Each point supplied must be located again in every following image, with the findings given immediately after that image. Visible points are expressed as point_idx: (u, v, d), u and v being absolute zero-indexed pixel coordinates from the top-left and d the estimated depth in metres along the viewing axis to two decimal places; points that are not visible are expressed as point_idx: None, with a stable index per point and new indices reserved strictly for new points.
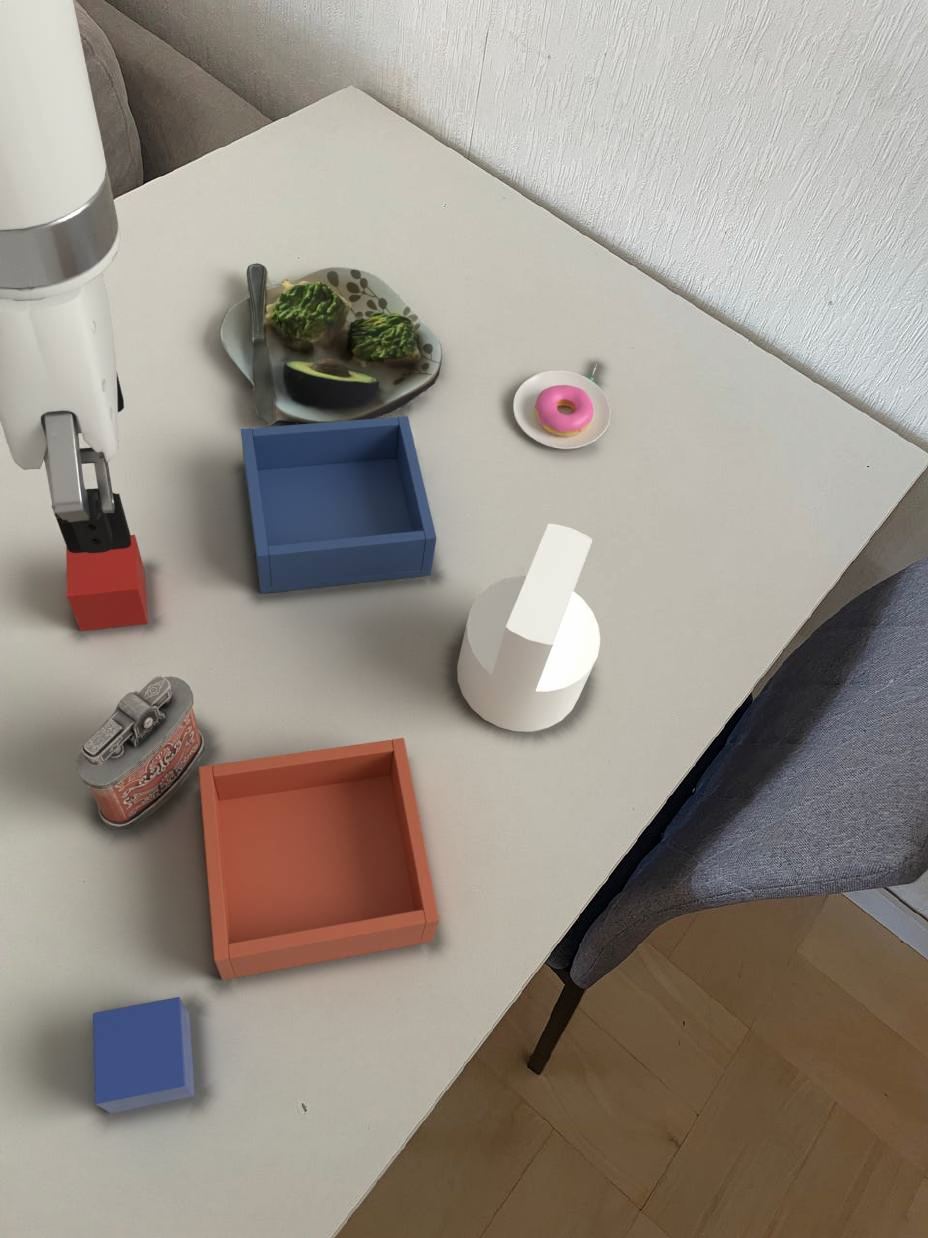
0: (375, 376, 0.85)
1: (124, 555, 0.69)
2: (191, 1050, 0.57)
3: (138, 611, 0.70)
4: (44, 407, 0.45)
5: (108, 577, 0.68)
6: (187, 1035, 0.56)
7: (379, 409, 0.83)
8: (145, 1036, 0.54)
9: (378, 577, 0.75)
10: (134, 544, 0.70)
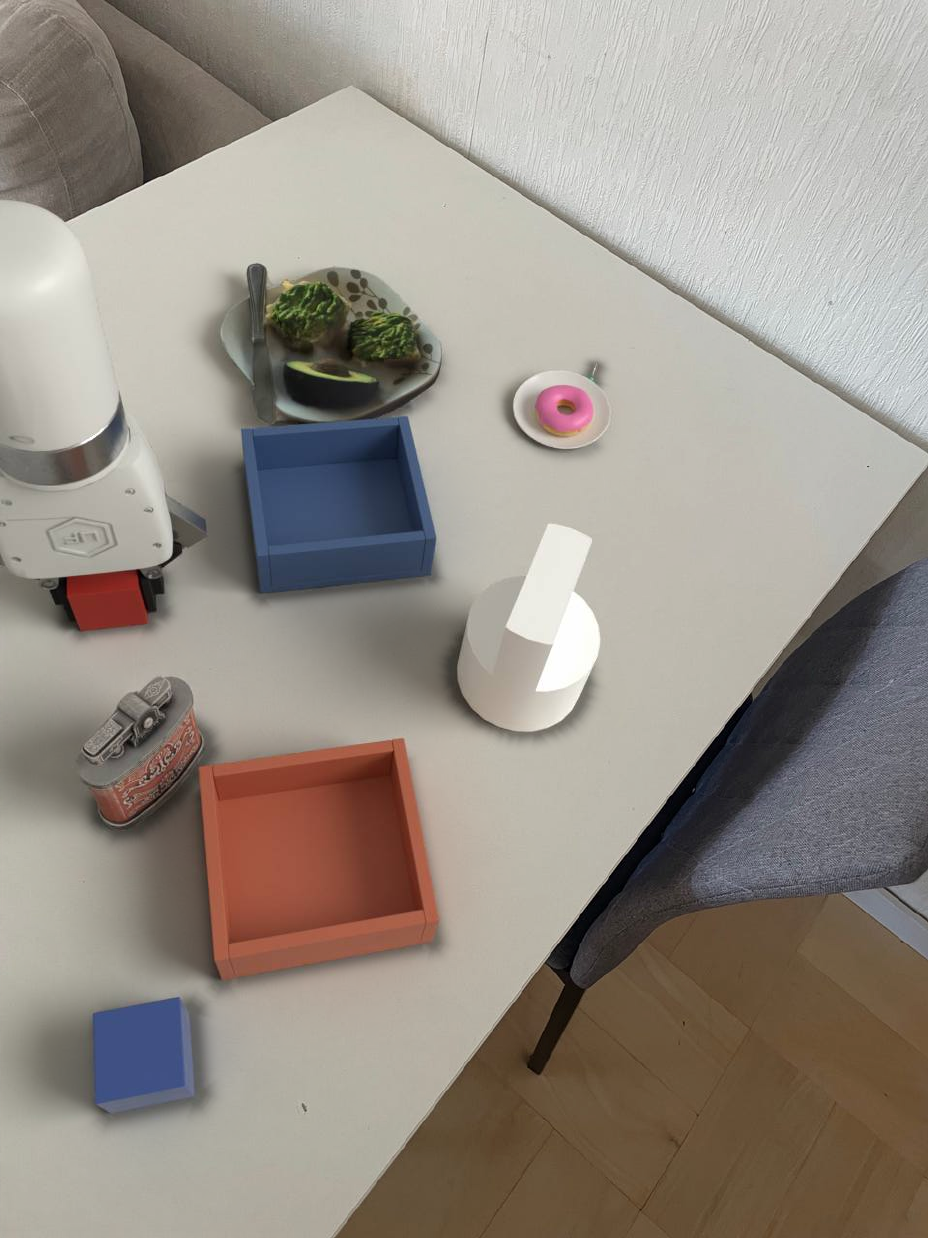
0: (375, 376, 0.85)
1: None
2: (191, 1050, 0.57)
3: (138, 611, 0.70)
4: (163, 492, 0.63)
5: (108, 577, 0.68)
6: (187, 1035, 0.56)
7: (379, 409, 0.83)
8: (145, 1036, 0.54)
9: (378, 577, 0.75)
10: None
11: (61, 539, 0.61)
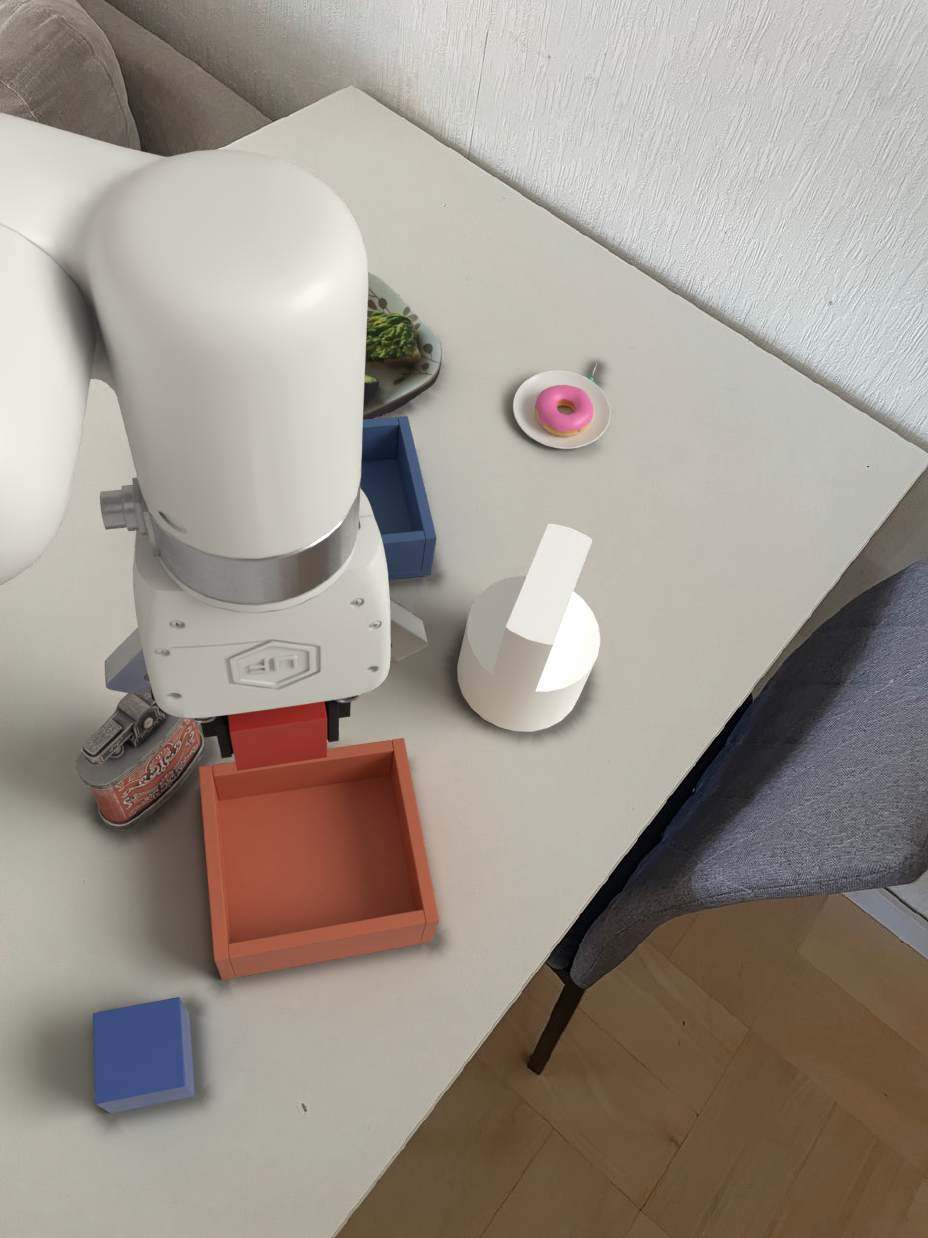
0: (375, 376, 0.85)
1: None
2: (191, 1050, 0.57)
3: (319, 744, 0.50)
4: None
5: None
6: (187, 1035, 0.56)
7: (379, 409, 0.83)
8: (145, 1036, 0.54)
9: None
10: None
11: (244, 668, 0.41)
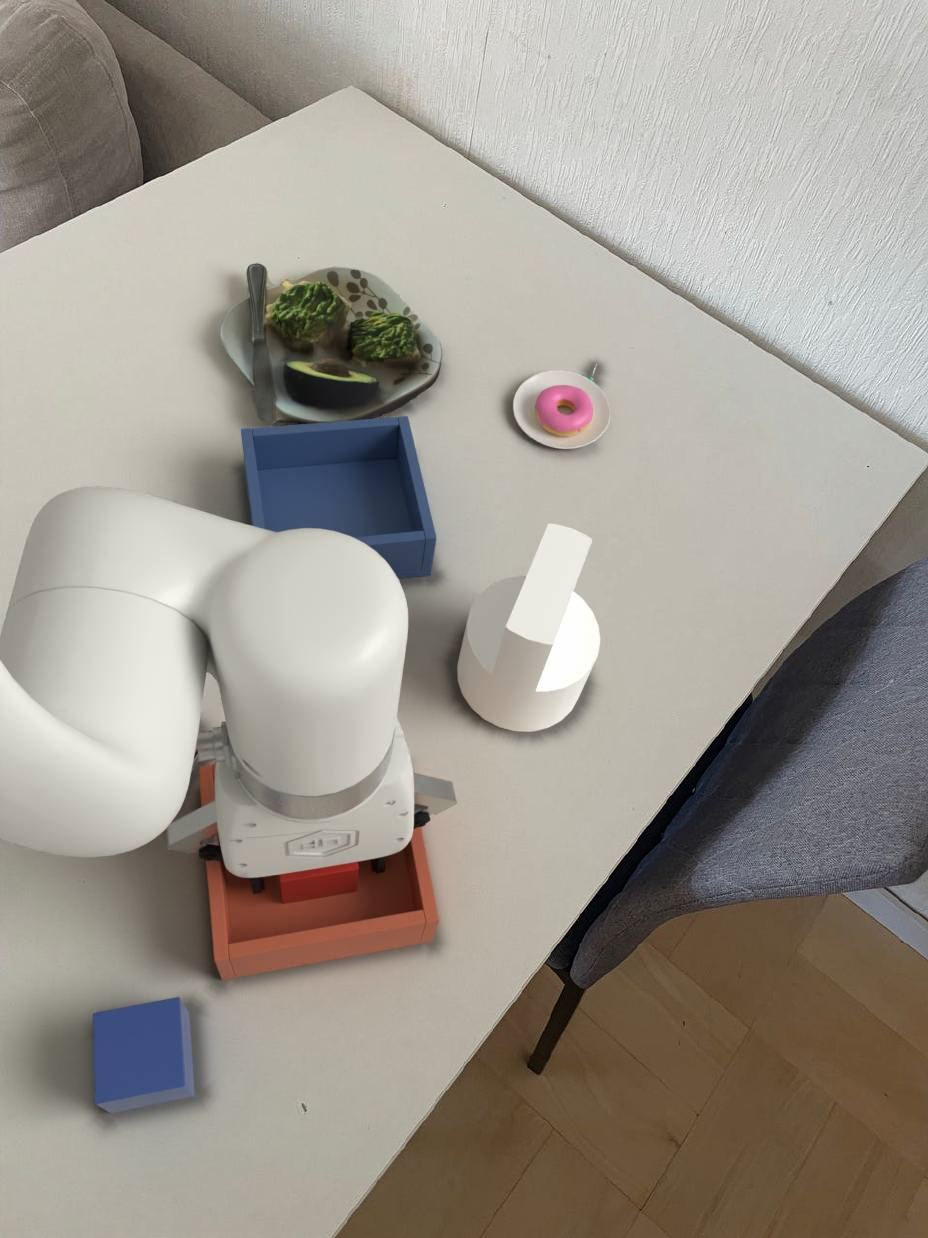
0: (375, 376, 0.85)
1: None
2: (191, 1050, 0.57)
3: (351, 884, 0.61)
4: None
5: None
6: (187, 1035, 0.56)
7: (379, 409, 0.83)
8: (145, 1036, 0.54)
9: None
10: None
11: (298, 846, 0.52)
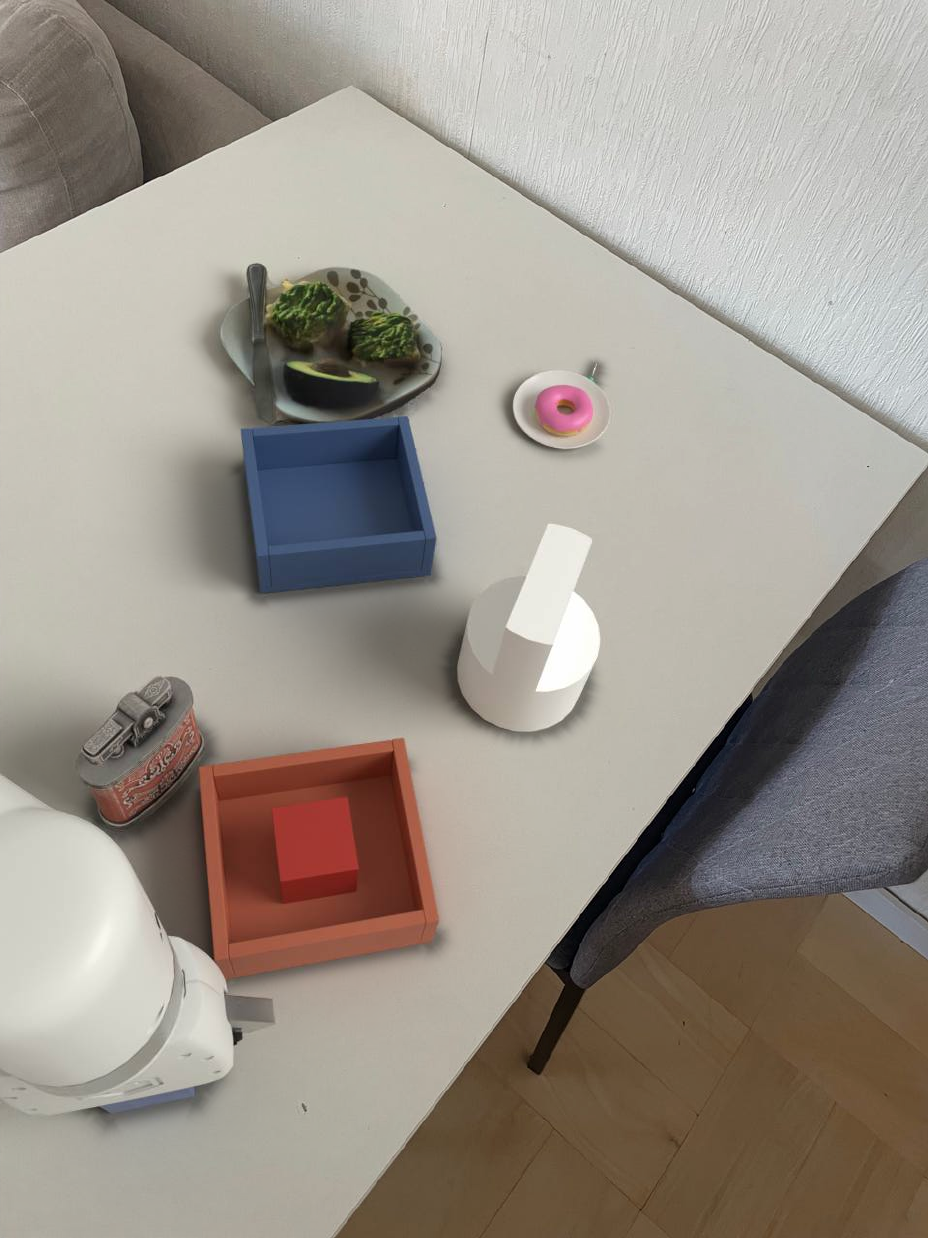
0: (375, 376, 0.85)
1: (339, 825, 0.60)
2: None
3: (351, 884, 0.61)
4: (224, 1010, 0.48)
5: (324, 855, 0.59)
6: None
7: (379, 409, 0.83)
8: None
9: (378, 577, 0.75)
10: (348, 809, 0.61)
11: None
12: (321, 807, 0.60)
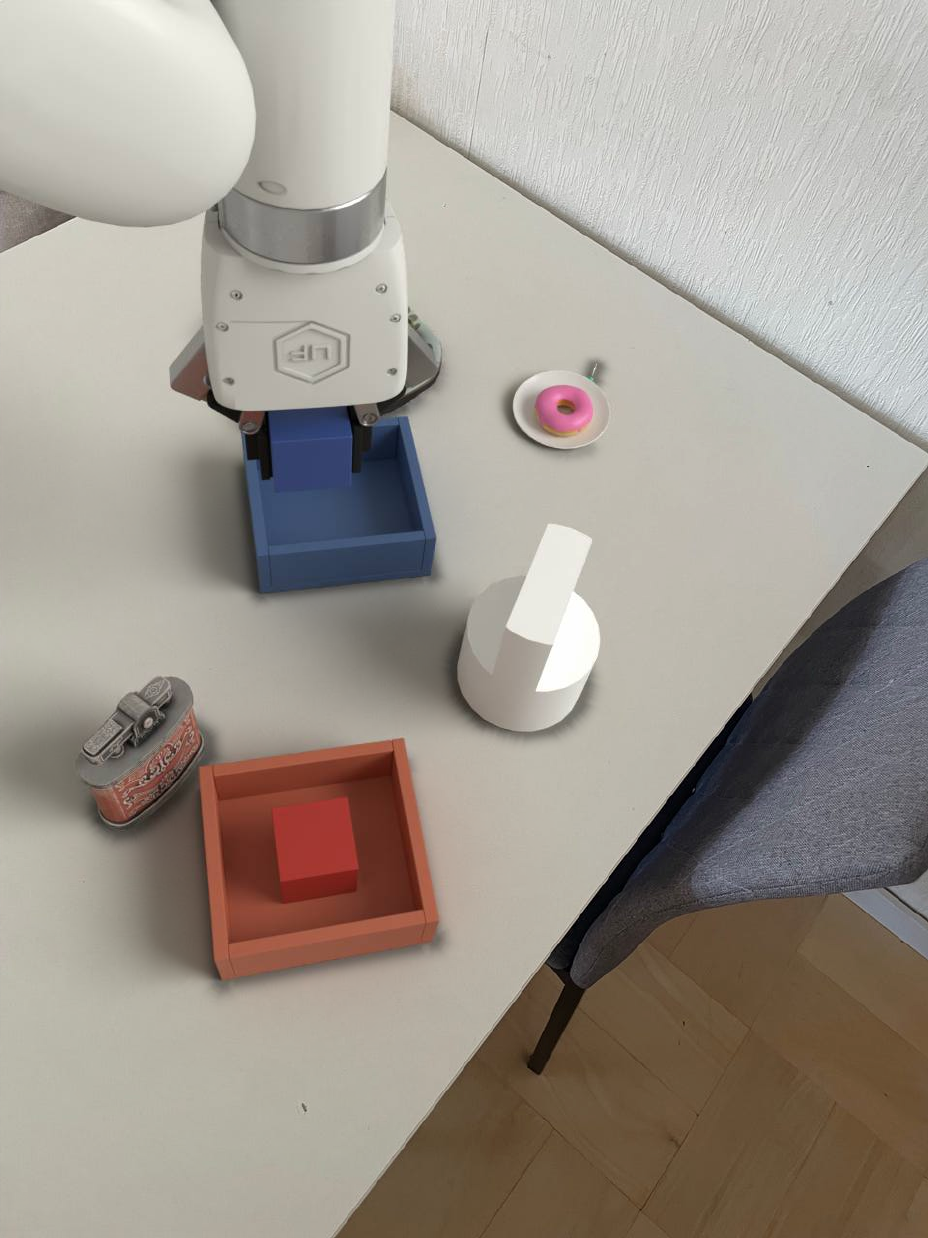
0: None
1: (339, 825, 0.60)
2: None
3: (351, 884, 0.61)
4: None
5: (324, 855, 0.59)
6: None
7: None
8: None
9: (378, 577, 0.75)
10: (348, 809, 0.61)
11: (287, 354, 0.50)
12: (321, 807, 0.60)
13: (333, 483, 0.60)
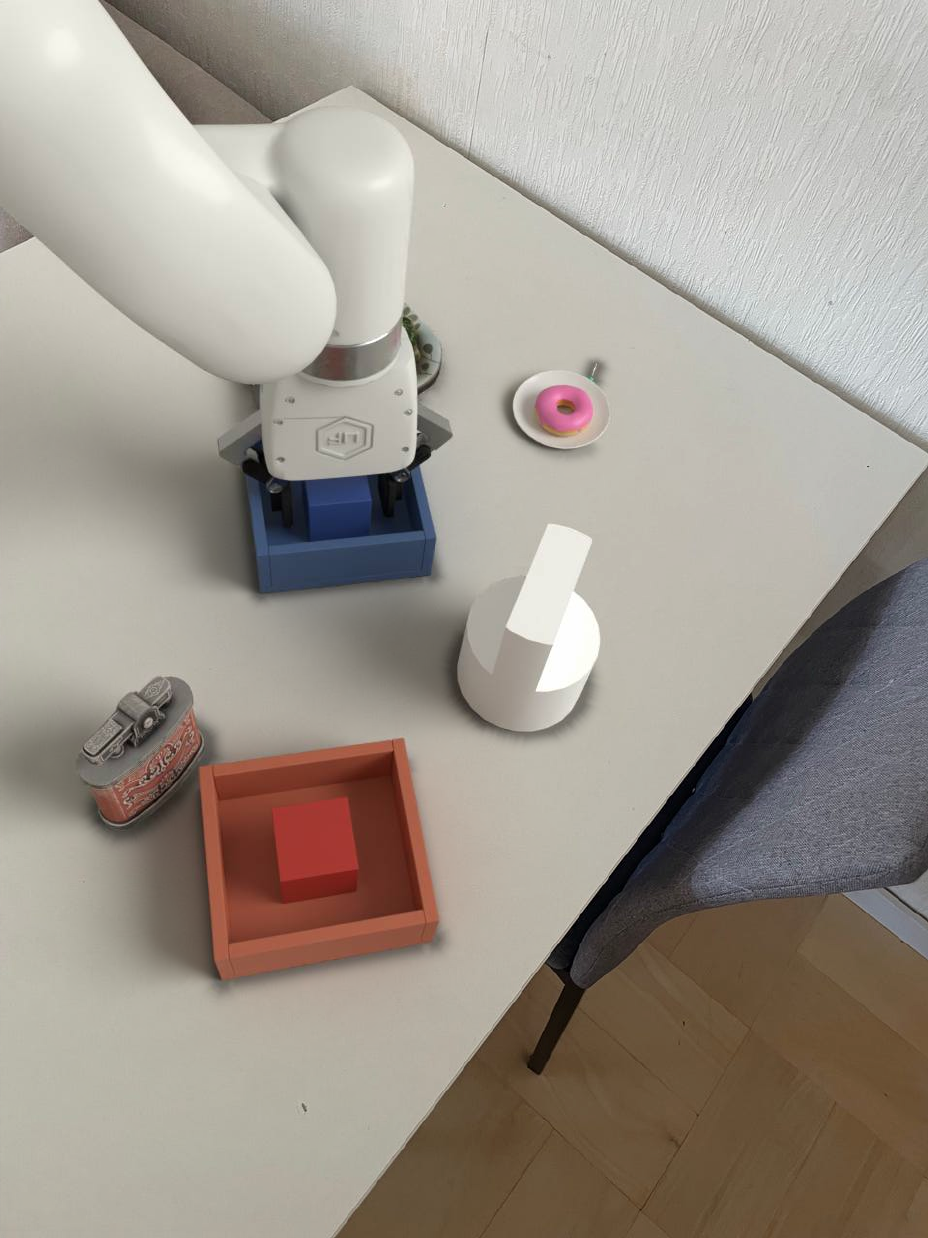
0: None
1: (339, 825, 0.60)
2: None
3: (351, 884, 0.61)
4: None
5: (324, 855, 0.59)
6: None
7: None
8: None
9: (378, 577, 0.75)
10: (348, 809, 0.61)
11: (325, 439, 0.66)
12: (321, 807, 0.60)
13: (355, 534, 0.76)
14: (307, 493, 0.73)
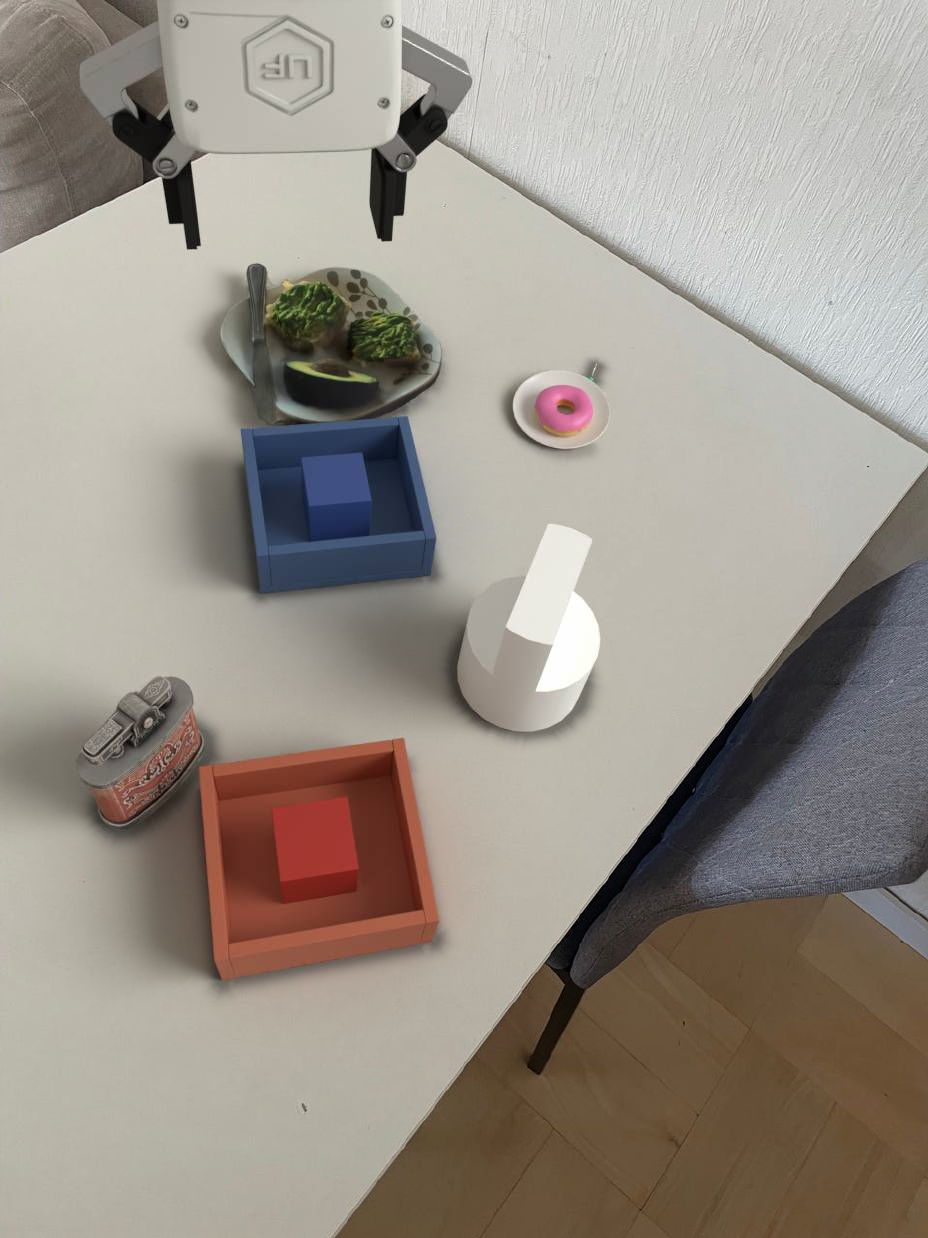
0: (375, 376, 0.85)
1: (339, 825, 0.60)
2: None
3: (351, 884, 0.61)
4: None
5: (324, 855, 0.59)
6: None
7: (379, 409, 0.83)
8: (340, 471, 0.74)
9: (378, 577, 0.75)
10: (348, 809, 0.61)
11: (260, 68, 0.42)
12: (321, 807, 0.60)
13: (355, 534, 0.76)
14: (307, 493, 0.73)
